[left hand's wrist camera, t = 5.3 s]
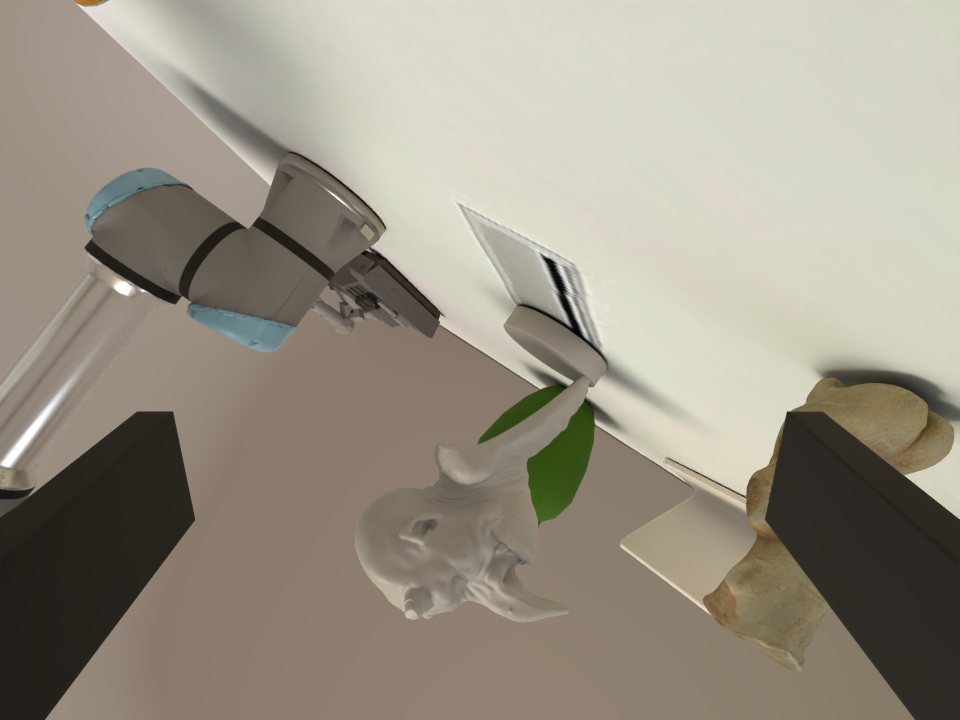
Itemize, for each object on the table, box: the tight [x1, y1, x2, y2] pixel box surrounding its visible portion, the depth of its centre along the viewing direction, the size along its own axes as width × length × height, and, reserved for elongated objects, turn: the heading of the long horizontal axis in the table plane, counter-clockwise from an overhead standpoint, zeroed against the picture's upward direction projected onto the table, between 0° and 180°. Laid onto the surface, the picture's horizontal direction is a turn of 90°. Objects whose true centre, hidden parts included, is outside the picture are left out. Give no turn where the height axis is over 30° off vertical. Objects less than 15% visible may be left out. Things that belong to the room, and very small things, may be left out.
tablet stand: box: [620, 458, 757, 616], centre depth 94 cm, size 18×25×17 cm
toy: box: [310, 253, 440, 338], centre depth 113 cm, size 25×20×15 cm
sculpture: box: [703, 378, 954, 672], centre depth 31 cm, size 6×7×15 cm
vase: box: [477, 385, 595, 526], centre depth 103 cm, size 20×20×24 cm
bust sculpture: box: [355, 306, 607, 622], centre depth 66 cm, size 16×24×35 cm
